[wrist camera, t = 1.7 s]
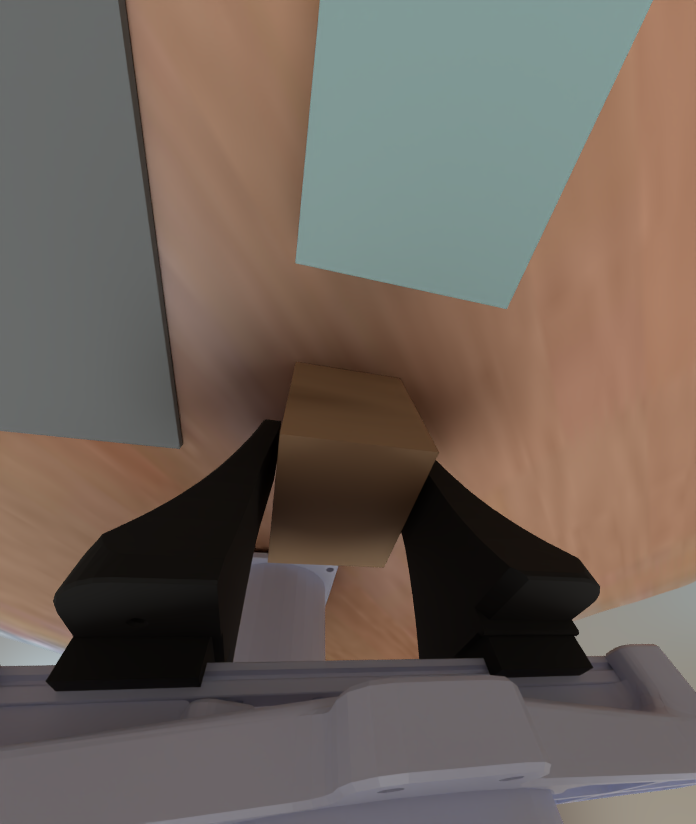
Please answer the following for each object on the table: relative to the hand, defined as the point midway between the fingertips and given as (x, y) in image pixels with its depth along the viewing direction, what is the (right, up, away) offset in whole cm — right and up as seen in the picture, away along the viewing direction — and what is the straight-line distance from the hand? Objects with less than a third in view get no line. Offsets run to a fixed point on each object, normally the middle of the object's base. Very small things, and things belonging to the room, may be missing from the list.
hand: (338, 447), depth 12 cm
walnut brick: (0, +1, +1) cm, 2 cm away
